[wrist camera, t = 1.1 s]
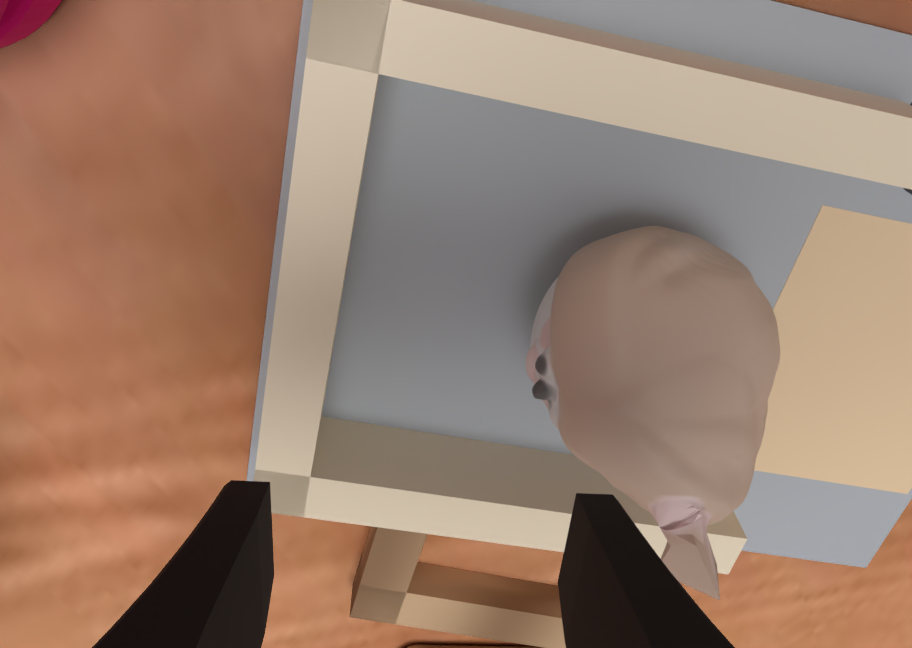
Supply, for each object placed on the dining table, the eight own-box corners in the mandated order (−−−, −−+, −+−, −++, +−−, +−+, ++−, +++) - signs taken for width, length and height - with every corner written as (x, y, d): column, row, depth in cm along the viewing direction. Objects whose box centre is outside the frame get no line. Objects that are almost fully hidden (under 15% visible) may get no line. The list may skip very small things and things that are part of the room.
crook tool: (707, 550, 28) (722, 585, 27) (659, 631, 30) (671, 667, 29) (380, 489, 26) (378, 524, 25) (353, 580, 28) (349, 617, 27)
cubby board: (1163, 97, 20) (1277, 130, 18) (861, 561, 28) (908, 632, 26) (318, -113, 17) (299, -112, 15) (248, 475, 25) (227, 546, 23)
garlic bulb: (475, 356, 23) (500, 562, 16) (577, 162, 20) (660, 309, 13) (666, 424, 25) (764, 638, 18) (786, 252, 22) (958, 426, 15)
